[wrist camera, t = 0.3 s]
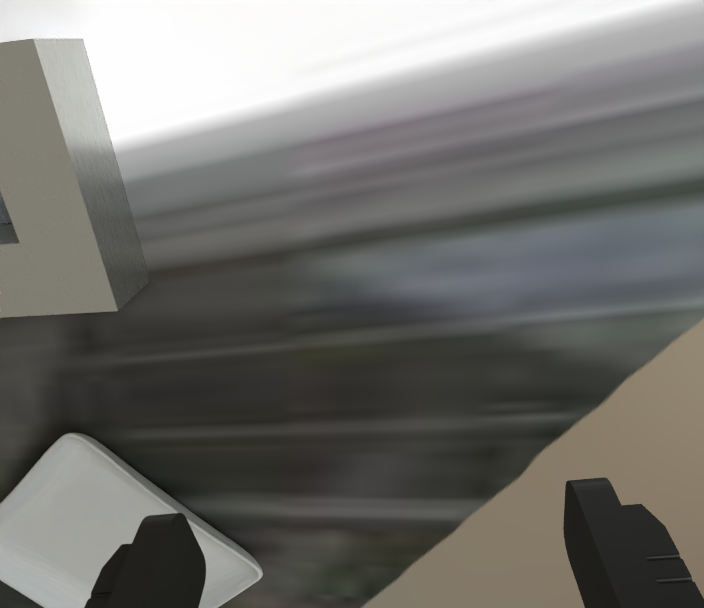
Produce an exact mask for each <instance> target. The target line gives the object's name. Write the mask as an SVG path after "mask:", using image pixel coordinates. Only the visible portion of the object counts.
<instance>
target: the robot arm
mask: <svg viewBox="0 0 704 608" xmlns="http://www.w3.org/2000/svg"><path fill="white" fill-rule="evenodd" d="M564 538H565V545H566V549H567V554H568V558H569V561H570V564H571V567H572V570H573V573H574V576H575V579H576V582H577V585H578V588H579V591H580V594H581V596H582V600H583V603H584V606H585V608H704V599H703V597H702V595H701V593H700V591H699V590H698V588H697V586H696V584H695V582H693V581H692V578H691V574H690V573H689V571H688V569H687V567H686V565H685V563H684V561H683V559H681V558H680V555H679V552H678V550H677V548H676V546H675V544H674V542H673V541H672V539H671V537H670V535H669V533H668V531H667V529H666V527H665V526H664V525H663V524H662V523H661V522H660V521H659V520H658V519H657V518H656V517H655V516H653V515H652V514H651V513H650V512H649V511H648V510H647V509H646V508H645V507H644V506H643V505H642V504H635V505H623V506H621V503H620V501H619V499H618V497H617V495H616V493H615V491H614V489H613V487H612V485H611V483H610V481H609V480H608V479H607V478H594V479H583V480H571V481H567V483H566V490H565V510H564ZM205 579H206V562H205V557H204V554H203V552H202V550H201V548H200V546H199V544H198V541H197V539H196V537H195V535H194V533H193V531H192V529H191V527H190V525H189V523H188V521H187V518H186V517H185V515H184V514H182V513H172V514H161V515H149V516H146V517H145V518H144V519H143V520H142V522H141V524H140V526H139V528H138V530H137V533H136V535H135V538H134V540H133V542H132V544H122V545H121V546H120V547H119V548H118V549H117V551H116V552H115V553H114V554H113V555H112V557H111V558H110V559H109V560H108V561H107V563H106V564H105V565H104V566H103V567H102V569H101V572H100V574H99V576H98V578H97V580H96V583H95V585H94V587H93V589H92V592H91V598H90V599H88V600H87V603H86V605H85V607H84V608H199V604H200V600H201V596H202V593H203V589H204V585H205Z"/></svg>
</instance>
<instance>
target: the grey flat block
mask: <svg viewBox="0 0 704 608" xmlns="http://www.w3.org/2000/svg"><path fill="white" fill-rule="evenodd" d="M0 192H1V194H2V197H3V200H4V202H5V205H6V208H7V210H8V213H9V216H10V218H11V221H12V224H0V318H2V317H20V316H38V315H56V314H74V313H92V312H110V311H119V310H120V309H121V308H122V307H123V306H124V305H125V304H126V303H127V302H128V301H129V300H130V299H131V298H132V297H133V296H134V295H135V294H136V293H138V292H139V291H140V290H141V289H142V288H143V287H144V286H145V285H146V284H147V283H148V282H149V281H150V279H149V276H148V272H147V268H146V265H145V261H144V258H143V254H142V250H141V247H140V243H139V240H138V236H137V232H136V229H135V225H134V222H133V218H132V214H131V211H130V207H129V204H128V200H127V196H126V193H125V189H124V185H123V182H122V178H121V175H120V171H119V167H118V164H117V160H116V157H115V153H114V149H113V146H112V142H111V139H110V135H109V131H108V128H107V124H106V121H105V117H104V113H103V110H102V106H101V103H100V99H99V95H98V92H97V88H96V84H95V81H94V77H93V74H92V70H91V66H90V63H89V59H88V56H87V52H86V48H85V45H84V41H83V39H27V40H19V41H10V42H2V43H0Z"/></svg>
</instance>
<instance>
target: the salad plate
mask: <svg viewBox="0 0 704 608" xmlns="http://www.w3.org/2000/svg"><path fill="white" fill-rule="evenodd" d="M172 513H182V514H184V515H185V517H186V518H187V521H188V523H189V525H190V527H191V529H192V531H193V533H194V535H195V537H196V539H197V541H198V544H199V546H200V548H201V550H202V552H203V554H204V557H205V562H206V579H205V585H204V589H203V593H202V596H201V600H200V604H199V608H218V607H219V606H221V605H222V604H224V603H225V602H227V601H229V600H230V599H232V598H233V597H234V596H236V595H238V594H239V593H241V592H242V591H244V590H245V589H247V588H248V587H250V586H251V585H253V584H254V583H256V582H257V581H258V580H260V578H261V577H262V575H263V573H262V569H261V567H260V566H259V564H258V563H257V561H256V560H255V559H254V558H253V557H252V556H251V555H250V554H249V553H248V552H247V551H245V550H244V549H243V548H242V547H240V546H239V545H238V544H236V543H235V542H233V541H232V540H231V539H229V538H228V537H226V536H225V535H223V534H222V533H220V532H219V531H217V530H216V529H215V528H213V527H212V526H210V525H209V524H207V523H206V522H205V521H203V520H202V519H200V518H199V517H197V516H196V515H195V514H193V513H192V512H191V511H189V510H188V509H187V508H185V507H184V506H183V505H181V504H180V503H179V502H177V501H176V500H175V499H173V498H172V497H171V496H169V495H168V494H166V493H165V492H164V491H162V490H161V489H160V488H158V487H157V486H156V485H154V484H153V483H152V482H150V481H149V480H148V479H146V478H145V477H144V476H142V475H141V474H140V473H138V472H137V471H136V470H134V469H133V468H132V467H130V466H129V465H128V464H127V463H125V462H124V461H123V460H122V459H120V458H119V457H118V456H116V455H115V454H114V453H113V452H111V451H110V450H109V449H108V448H106V447H105V446H104V445H102V444H101V443H99V442H98V441H97V440H95V439H93V438H91V437H90V436H88V435H85V434H81V433H67V434H65V435H63V436H62V437H60V438H59V439H58V440H57V441H56V442H55V443H54V444H53V445H52V446H51V447H50V448H49V449H48V450H47V451H46V452H45V453H44V454H43V456H42V457H41V458H40V459H39V460H38V461H37V463H36V464H35V465H34V466H33V467H32V469H31V470H30V471H29V472H28V473H27V474H26V476H25V477H24V478H23V479H22V480H21V481H20V482H19V484H18V485H17V486H16V487H15V488H14V489H13V490H12V492H11V493H10V494H9V495H8V496H7V497H6V498H5V499H4V500H3V501H2V502H1V503H0V580H1V581H2V582H4V583H6V584H7V585H9V586H10V587H12V588H14V589H15V590H17V591H19V592H20V593H22V594H23V595H25V596H27V597H28V598H30V599H31V600H33V601H34V602H36V603H37V604H39V605H41V606H42V607H44V608H84V607H85V605H86V603H87V600H88V599H90V598H91V592H92V589H93V587H94V585H95V583H96V580H97V578H98V576H99V574H100V572H101V569H102V567H103V566H104V565H105V564H106V563H107V561H108V560H109V559H110V558H111V557H112V555H113V554H114V553H115V552H116V551H117V549H118V548H119V547H120V546H121V545H122V544H132V542H133V540H134V538H135V535H136V533H137V530H138V528H139V526H140V524H141V522H142V520H143V519H144V518H145V517H146V516H149V515H161V514H172Z"/></svg>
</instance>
